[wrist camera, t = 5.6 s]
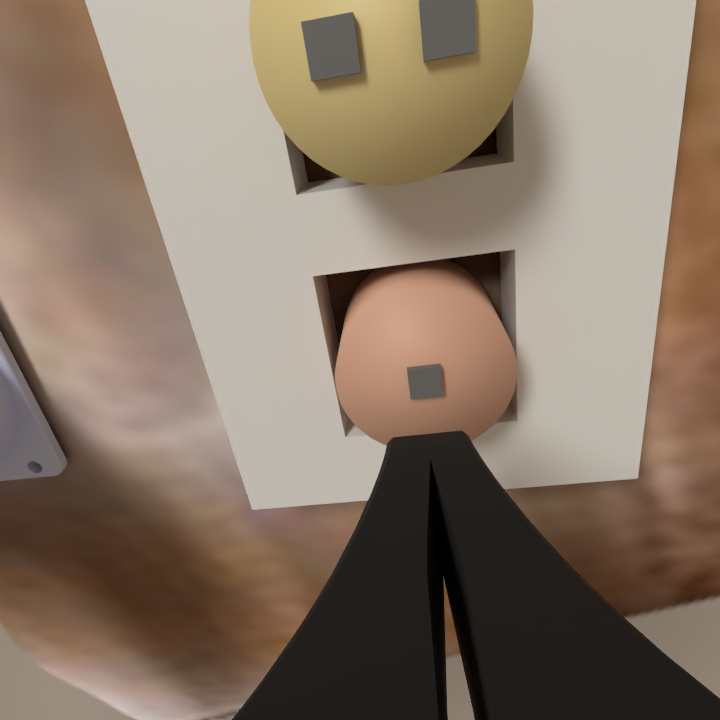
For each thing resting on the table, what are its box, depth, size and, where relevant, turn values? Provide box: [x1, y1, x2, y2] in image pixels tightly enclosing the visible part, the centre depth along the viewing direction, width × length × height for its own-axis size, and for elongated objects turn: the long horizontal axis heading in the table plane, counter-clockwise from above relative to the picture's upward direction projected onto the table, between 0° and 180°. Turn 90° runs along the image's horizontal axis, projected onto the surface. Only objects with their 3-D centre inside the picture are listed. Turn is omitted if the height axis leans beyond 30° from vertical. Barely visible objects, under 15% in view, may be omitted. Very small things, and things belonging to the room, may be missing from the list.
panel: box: [85, 0, 696, 510], centre depth 11 cm, size 12×24×2 cm, turn 9°
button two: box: [249, 0, 534, 186], centre depth 9 cm, size 4×4×3 cm
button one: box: [335, 259, 517, 446], centre depth 14 cm, size 4×4×3 cm
